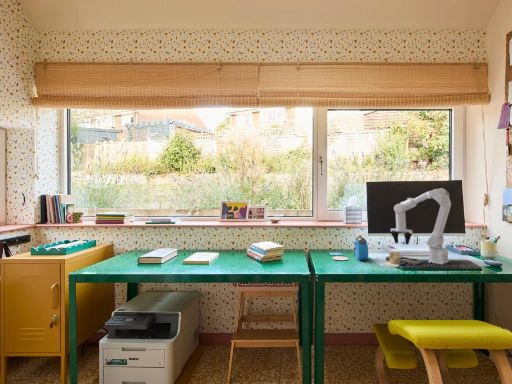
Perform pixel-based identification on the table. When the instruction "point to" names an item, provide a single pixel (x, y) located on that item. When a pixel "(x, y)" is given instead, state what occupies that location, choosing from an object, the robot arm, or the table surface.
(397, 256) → the peg
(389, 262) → the mat
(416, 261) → the rail
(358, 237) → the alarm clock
